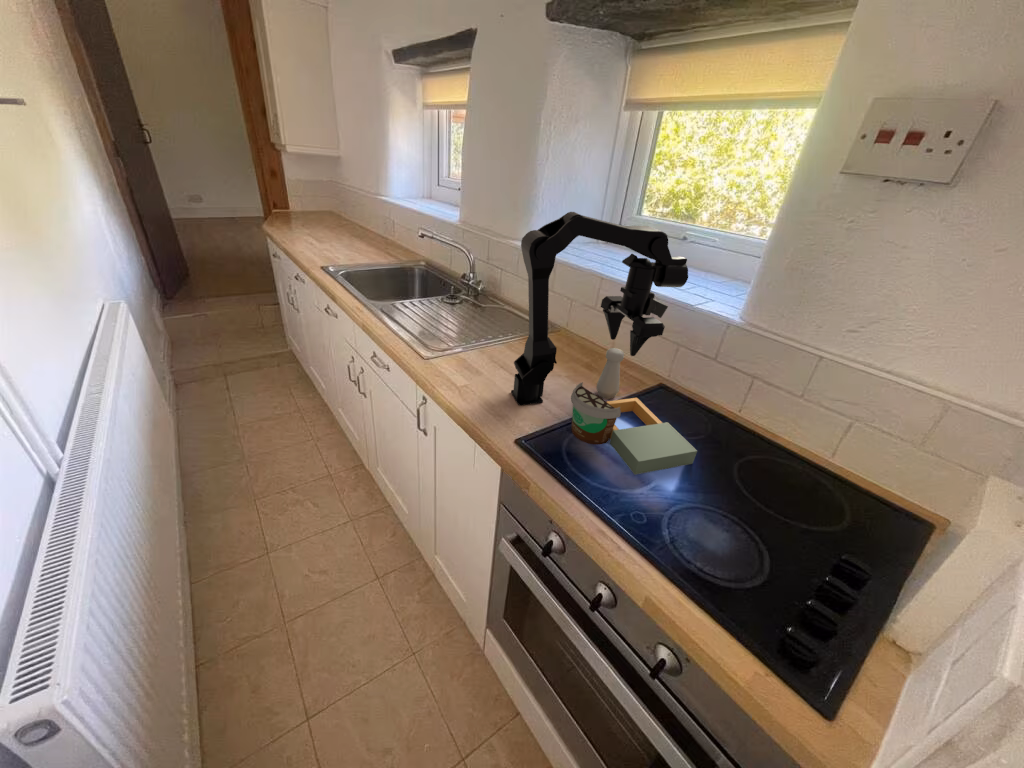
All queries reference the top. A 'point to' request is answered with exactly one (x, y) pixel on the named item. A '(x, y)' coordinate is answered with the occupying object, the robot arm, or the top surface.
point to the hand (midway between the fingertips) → (622, 347)
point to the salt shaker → (610, 374)
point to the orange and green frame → (649, 441)
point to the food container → (592, 416)
